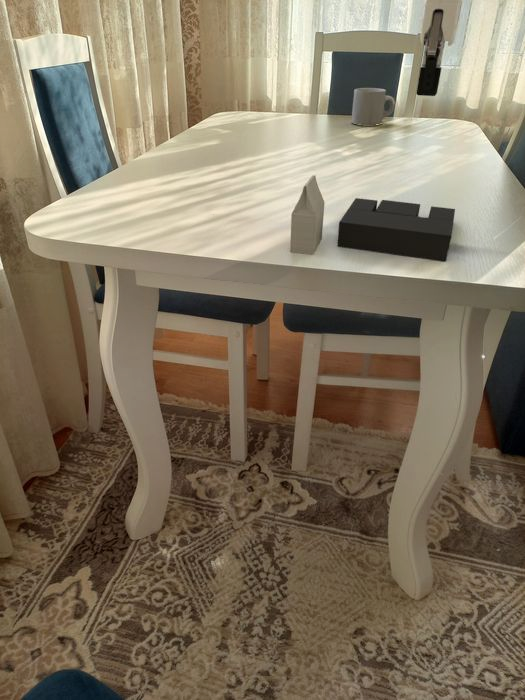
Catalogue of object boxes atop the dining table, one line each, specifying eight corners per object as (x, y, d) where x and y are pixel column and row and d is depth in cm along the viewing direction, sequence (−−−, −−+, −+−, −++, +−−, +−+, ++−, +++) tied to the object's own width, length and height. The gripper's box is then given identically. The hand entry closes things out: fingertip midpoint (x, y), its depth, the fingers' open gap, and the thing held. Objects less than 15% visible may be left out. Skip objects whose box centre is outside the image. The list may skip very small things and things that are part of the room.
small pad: (416, 227, 84) (420, 204, 82) (411, 240, 79) (415, 216, 77) (378, 222, 86) (382, 199, 84) (371, 234, 81) (375, 211, 79)
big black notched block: (449, 232, 82) (455, 208, 80) (445, 261, 73) (451, 235, 70) (353, 220, 87) (355, 197, 85) (337, 246, 77) (339, 221, 75)
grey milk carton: (321, 238, 80) (326, 175, 74) (313, 254, 75) (318, 188, 69) (299, 236, 81) (302, 173, 75) (290, 251, 76) (292, 185, 70)
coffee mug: (350, 125, 160) (353, 91, 154) (351, 120, 168) (355, 87, 162) (392, 127, 158) (397, 92, 152) (391, 121, 166) (396, 88, 160)
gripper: (477, -52, 65) (447, 102, 75) (477, -42, 76) (451, 90, 87) (418, -50, 67) (397, 100, 77) (428, -41, 78) (408, 88, 89)
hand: (426, 94), depth 82 cm, fingers closed
